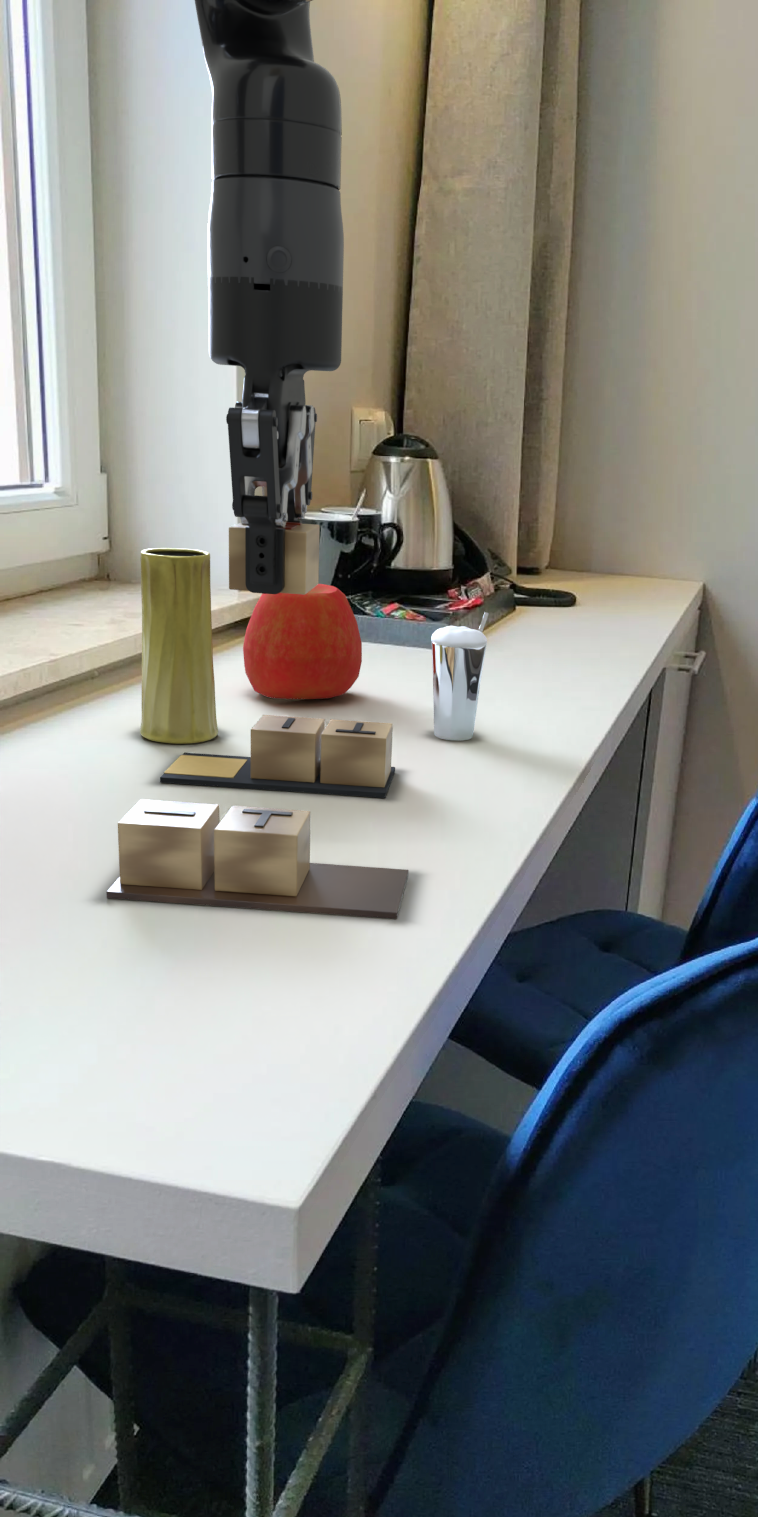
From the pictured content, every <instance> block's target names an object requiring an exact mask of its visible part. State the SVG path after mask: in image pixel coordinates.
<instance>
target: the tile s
mask: <svg viewBox="0 0 758 1517" xmlns="http://www.w3.org/2000/svg"><path fill="white" fill-rule="evenodd" d="M245 527H247V526H246V525H242V523H241V522H238V523H235V524H233V525H230V526H229V527H228V589H229V590H231V591H244V592H245V591H246V592H250V591H249V590H248V589H247V588H246V575H245ZM284 529H285V586H284V589H283V590H282V591H281V592H280V593H289V594H303V595H305V594H306V593H308V592H309V591H310V590H311V589H313V588H314V587H315V586H316V585H318V584H320V583H319V577H320V570H319V569H320V530H321V529H320V525H319V524H315V523H314V524H313V523H303V522H302V523H295V522H286V525H285V528H284Z"/></svg>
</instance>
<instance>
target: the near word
mask: <svg viewBox="0 0 758 1517" xmlns="http://www.w3.org/2000/svg"><path fill="white" fill-rule="evenodd" d="M311 815H312V814H311V811H310V810H301V809H300V810H299V809H286V808H271V807H257V806H246V805H245V806H243V805H231V806H230V808H228V810H227V811H226V813H225V815H224V816H223V817H222V818H221V819H220V804H217V803H202V802H191V801H189V802H188V801H174V800H161V799H145V798H141V799H139V800H138V801H137V802H136V803H135V804H134V805H133V807H131V809H129V811H127V813H126V814H125V815H124V816H123V817H122V818H121V819H119V821H118V822H117V841H118V844H117V845H118V869H119V871H118V872H119V876H118V877H117V879H115V881H114V882H113V884H111V886H110V887H109V888H108V889H107V890H106V899H113V900H114V899H115V900H116V899H117V900H127V901H143V902H158V903H171V904H182V905H183V904H185V905H197V906H212V907H226V908H238V909H239V908H241V909H253V910H255V909H256V910H268V911H278V912H279V911H280V912H281V911H282V912H296V913H306V914H307V913H310V914H321V915H322V914H324V915H337V916H349V917H351V916H352V917H365V918H378V919H389V920H390V919H392V920H397V919H398V916H399V913H400V909H401V905H402V901H403V897H404V893H405V890H406V886H407V882H408V878H409V872H410V871H409V869H404V868H403V869H402V868H389V867H373V866H360V865H348V864H345V865H344V864H333V863H332V864H331V863H317V862H310V861H311V818H312V817H311Z"/></svg>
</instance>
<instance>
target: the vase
mask: <svg viewBox="0 0 758 1517" xmlns="http://www.w3.org/2000/svg"><path fill="white" fill-rule="evenodd" d="M140 579H141V580H140V583H141V584H140V586H141V587H140V588H141V590H140V591H141V592H140V593H141V721H140V729H139V730H140V731H139V733H140V735H141V736H142V737H143V738H145V739H147V740H148V741H152V742H157V743H163V744H171V745H172V744H174V745H183V744H184V745H185V744H186V745H189V744H196V743H197V744H198V743H203V742H207V741H210V740H213V739H215V738H216V737H217V736H218V734H219V726H218V720H217V708H216V707H217V704H216V703H217V702H216V684H215V670H214V668H215V667H214V653H213V652H214V651H213V650H214V649H213V648H214V647H213V646H214V645H213V622H212V592H211V591H212V590H211V553H210V552H209V551H207V550H206V551H205V550H203V549H202V550H200V549H194V548H193V549H192V548H180V547H179V548H178V547H155V548H153V547H151V548H146V549H142V550H141V551H140Z"/></svg>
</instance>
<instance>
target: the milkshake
mask: <svg viewBox="0 0 758 1517" xmlns="http://www.w3.org/2000/svg"><path fill="white" fill-rule="evenodd" d="M489 615H490V614H489V612H485V611H484V614H483V616H482V619H481V622H480V625H479V628H478V629H476V628H475V629H473V628H469V627H468V626H464V625H463V626H456V625H447V626H444V627H439V628H437V629H435V631H434V632H432V634H431V637H430V640H431V642H430V643H431V644H430V645H431V661H432V662H431V663H432V695H433V697H432V700H433V701H432V702H433V736H435V737H436V738H439V739H440V740H446V741H455V742H457V741H459V742H460V741H461V742H462V741H463V742H464V741H468V740H471V739H472V738H473V737H474V732H475V725H476V719H477V718H476V717H477V712H478V703H479V695H480V689H481V680H482V674H483V668H484V662H485V657H486V651H487V644H488V638H487V636H486V635H485V634H484V632H483V631H484V628H485V626H486V623H487V620H488V617H489Z"/></svg>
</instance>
